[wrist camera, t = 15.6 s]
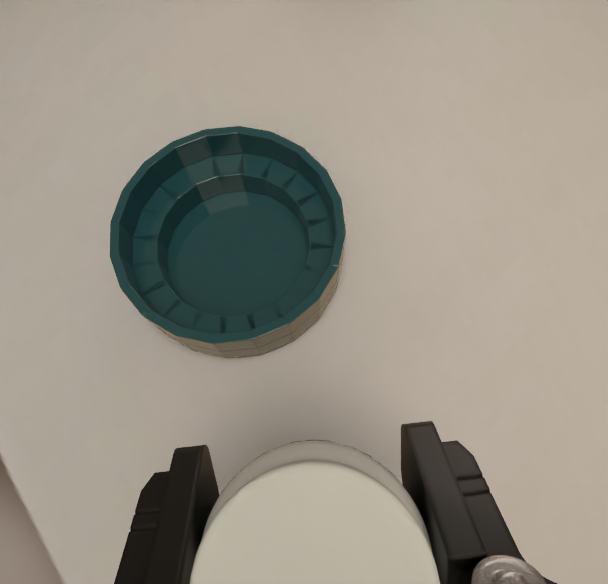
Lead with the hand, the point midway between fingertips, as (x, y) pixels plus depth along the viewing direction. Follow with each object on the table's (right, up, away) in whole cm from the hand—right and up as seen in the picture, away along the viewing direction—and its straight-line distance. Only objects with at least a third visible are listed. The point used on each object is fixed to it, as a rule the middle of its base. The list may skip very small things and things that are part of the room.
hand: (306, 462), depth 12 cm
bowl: (-5, +7, +25) cm, 27 cm away
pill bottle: (0, -3, +4) cm, 5 cm away
